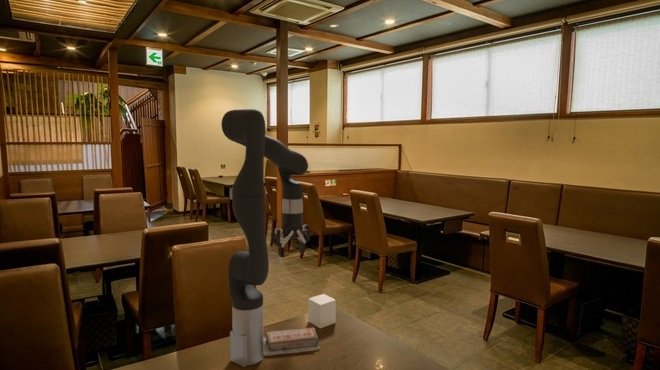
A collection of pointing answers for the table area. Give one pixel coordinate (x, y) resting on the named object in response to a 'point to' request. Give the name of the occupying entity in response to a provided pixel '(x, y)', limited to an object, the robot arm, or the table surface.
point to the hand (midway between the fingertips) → (291, 254)
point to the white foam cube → (321, 310)
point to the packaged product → (290, 341)
